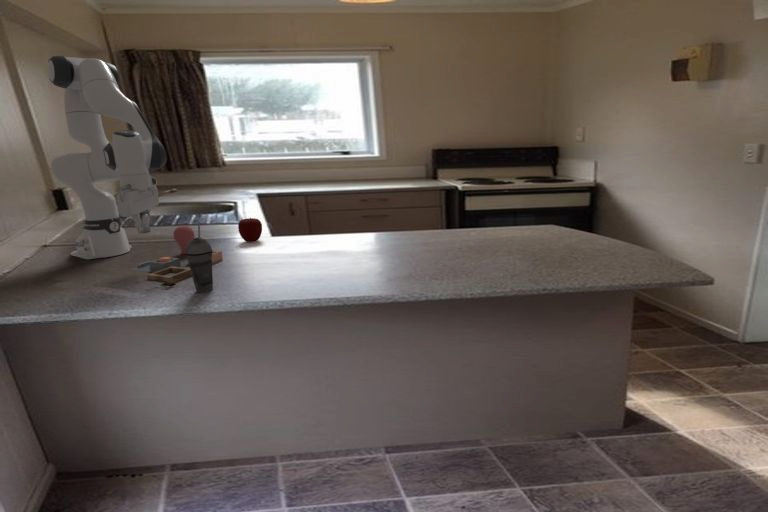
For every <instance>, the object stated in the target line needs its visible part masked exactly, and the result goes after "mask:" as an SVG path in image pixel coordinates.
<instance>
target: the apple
mask: <svg viewBox="0 0 768 512" xmlns="http://www.w3.org/2000/svg"><path fill="white" fill-rule="evenodd" d="M237 229H238V233H239V235H240V237H241V239H242V240H244V241H245V242H246V243H255V242H257V241H259V239H260V238H261V237H262V236H261V235H262V233H263V232H262V231H263V224H262V222H261V220H260V219H258V218H255V217H254V218H252V217H250V218H243V219H241V220H239V222H238V224H237Z"/></svg>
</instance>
